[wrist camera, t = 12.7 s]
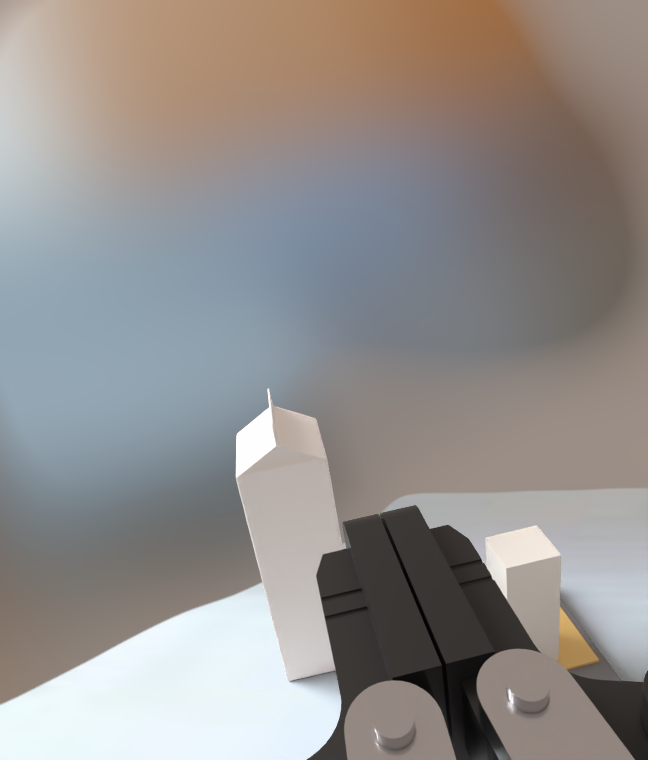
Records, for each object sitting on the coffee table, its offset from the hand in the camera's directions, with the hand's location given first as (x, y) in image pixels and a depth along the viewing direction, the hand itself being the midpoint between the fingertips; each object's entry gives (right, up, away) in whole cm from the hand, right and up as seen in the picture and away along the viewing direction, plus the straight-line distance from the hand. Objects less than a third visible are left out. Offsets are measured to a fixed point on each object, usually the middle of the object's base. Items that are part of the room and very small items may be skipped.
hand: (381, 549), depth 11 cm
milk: (-1, -18, +35) cm, 39 cm away
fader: (+13, -16, +28) cm, 35 cm away
